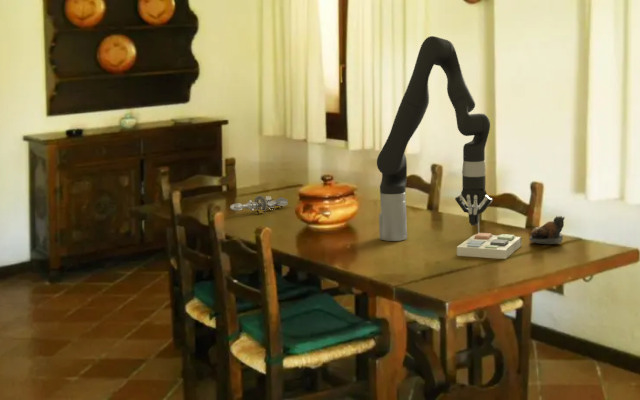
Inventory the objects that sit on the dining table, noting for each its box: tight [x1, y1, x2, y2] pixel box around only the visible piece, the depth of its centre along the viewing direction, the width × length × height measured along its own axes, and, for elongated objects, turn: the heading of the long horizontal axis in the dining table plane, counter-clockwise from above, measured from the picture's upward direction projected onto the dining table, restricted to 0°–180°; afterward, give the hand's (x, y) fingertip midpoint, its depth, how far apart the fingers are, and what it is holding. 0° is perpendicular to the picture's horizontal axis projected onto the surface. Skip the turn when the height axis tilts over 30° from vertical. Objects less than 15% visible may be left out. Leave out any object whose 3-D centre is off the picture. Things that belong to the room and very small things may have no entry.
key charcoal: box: [490, 239, 508, 246], centre depth 299 cm, size 5×5×2 cm
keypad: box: [456, 233, 522, 260], centre depth 303 cm, size 16×20×3 cm
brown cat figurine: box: [529, 215, 565, 245], centre depth 308 cm, size 12×7×10 cm, turn 56°
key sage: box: [497, 233, 515, 241], centre depth 306 cm, size 5×5×2 cm
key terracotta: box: [474, 232, 493, 240], centre depth 310 cm, size 5×5×2 cm
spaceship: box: [229, 195, 290, 212], centre depth 387 cm, size 8×35×8 cm
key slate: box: [467, 240, 485, 245], centre depth 303 cm, size 5×5×2 cm
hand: (473, 225), depth 301 cm, fingers closed
